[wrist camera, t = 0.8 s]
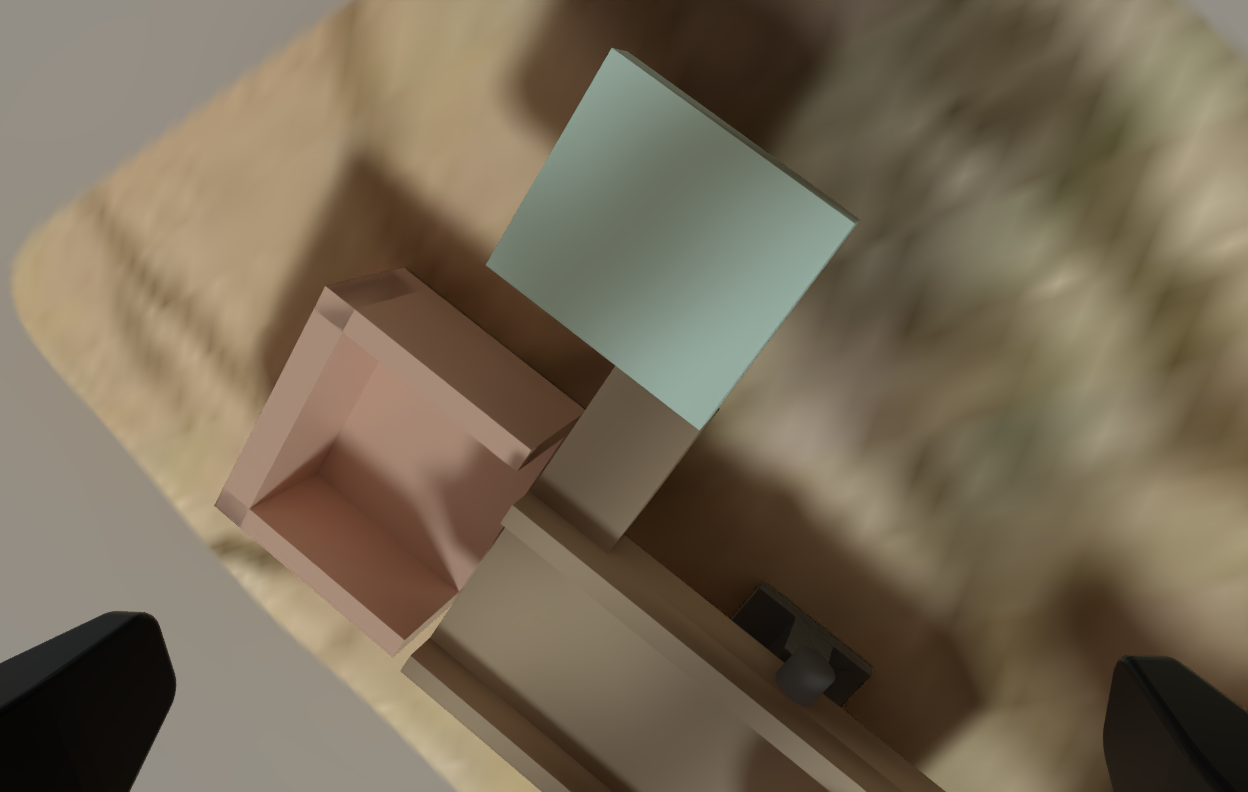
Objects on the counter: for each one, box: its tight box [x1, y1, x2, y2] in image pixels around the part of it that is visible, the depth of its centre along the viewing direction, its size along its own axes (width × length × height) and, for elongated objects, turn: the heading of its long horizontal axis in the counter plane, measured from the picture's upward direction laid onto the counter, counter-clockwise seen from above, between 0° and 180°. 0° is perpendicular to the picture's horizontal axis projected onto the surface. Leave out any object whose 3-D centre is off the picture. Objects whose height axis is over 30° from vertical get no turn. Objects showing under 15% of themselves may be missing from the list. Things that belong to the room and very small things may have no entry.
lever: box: [401, 48, 945, 792], centre depth 18 cm, size 15×14×2 cm
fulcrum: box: [730, 581, 872, 707], centre depth 22 cm, size 3×5×2 cm, turn 146°
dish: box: [214, 268, 585, 657], centre depth 22 cm, size 6×6×3 cm
